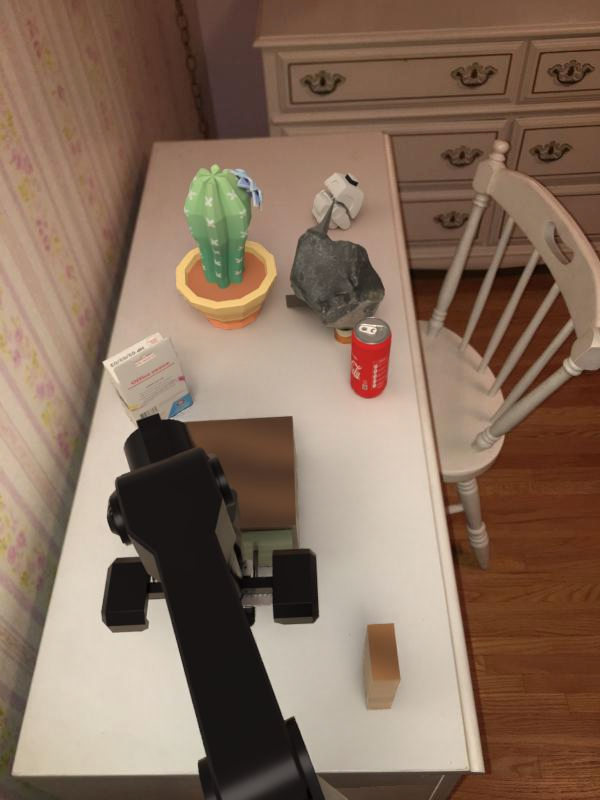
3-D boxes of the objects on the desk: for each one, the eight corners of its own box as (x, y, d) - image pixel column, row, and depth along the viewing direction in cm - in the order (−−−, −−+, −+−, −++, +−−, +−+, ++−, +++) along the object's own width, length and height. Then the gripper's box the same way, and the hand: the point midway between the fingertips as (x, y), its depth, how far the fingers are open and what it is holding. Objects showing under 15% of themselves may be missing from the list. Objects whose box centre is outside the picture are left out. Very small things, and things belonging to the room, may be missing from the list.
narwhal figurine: (292, 368, 95) (284, 279, 81) (285, 295, 104) (277, 202, 90) (388, 359, 95) (397, 268, 81) (373, 287, 104) (379, 193, 90)
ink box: (176, 383, 95) (153, 313, 83) (193, 404, 92) (172, 336, 80) (125, 413, 92) (93, 345, 80) (141, 436, 89) (112, 369, 77)
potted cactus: (273, 348, 98) (256, 213, 77) (174, 342, 99) (133, 208, 79) (287, 277, 107) (275, 139, 86) (196, 272, 108) (163, 136, 88)
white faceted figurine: (340, 240, 114) (375, 194, 109) (313, 229, 110) (348, 180, 105) (326, 220, 117) (360, 175, 112) (300, 209, 113) (333, 160, 108)
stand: (390, 708, 68) (400, 679, 57) (366, 710, 68) (372, 681, 57) (385, 659, 71) (393, 622, 60) (362, 660, 71) (367, 624, 60)
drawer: (296, 605, 74) (292, 582, 68) (179, 611, 74) (166, 589, 68) (291, 465, 84) (288, 435, 79) (190, 471, 85) (179, 441, 79)
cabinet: (300, 557, 78) (296, 525, 71) (180, 563, 78) (163, 532, 71) (296, 454, 87) (292, 415, 79) (188, 459, 87) (174, 422, 79)
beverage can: (381, 404, 91) (386, 349, 81) (345, 395, 92) (346, 340, 82) (390, 376, 93) (396, 319, 84) (355, 368, 95) (357, 311, 85)
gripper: (311, 463, 56) (316, 539, 68) (97, 474, 56) (141, 547, 69) (317, 589, 49) (321, 647, 62) (75, 600, 50) (128, 656, 62)
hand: (225, 619), depth 64 cm, fingers closed
